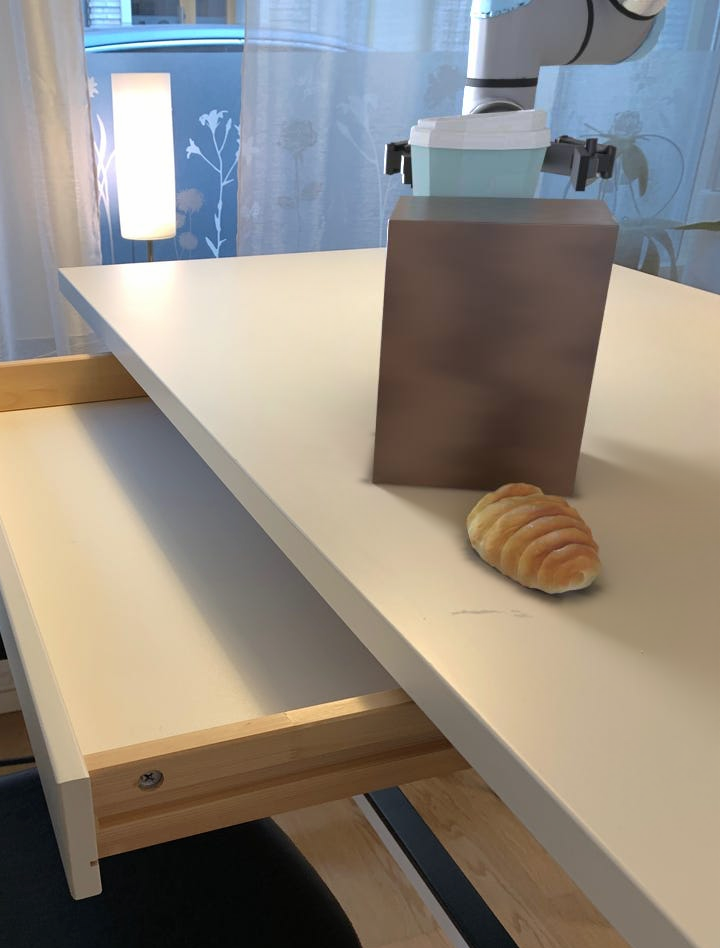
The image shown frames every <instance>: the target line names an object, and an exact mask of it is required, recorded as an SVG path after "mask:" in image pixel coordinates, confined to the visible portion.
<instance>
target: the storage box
mask: <svg viewBox="0 0 720 948" xmlns="http://www.w3.org/2000/svg"><path fill="white" fill-rule="evenodd" d="M619 230H620V225H619V223H618V221H617V220H616V218H615V216H614V214H613V213H612V211H611V209H610V208H609V206H608V205H607V203H606V201H605V200H604V199H597V198H593V199H591V198H590V199H589V198H545V197H542V198H541V197H538V198H537V197H533V198H496V197H445V196H413V195H400V196H399V197H398V199H397V201H396V204H395V206H394V207H393V210H392V212H391V214H390V216H389V219H388V221H387V236H386V250H385V251H386V252H385V265H384V266H385V267H384V283H383V284H384V285H383V300H382V315H381V332H380V333H381V334H380V349H379V364H378V365H379V366H378V380H377V397H376V398H377V399H376V411H375V428H374V429H375V430H374V447H373V448H374V449H373V463H372V476H371V477H372V478H371V479H372V480H371V483H372V484H380V485H381V484H382V485H395V486H396V485H398V486H410V487H411V486H412V487H424V488H426V487H427V488H439V489H453V490H454V489H455V490H466V491H467V490H468V491H482V492H483V491H484V492H495V491H496V490H498V489H499V488H500V487H502V486H504V485H507V484H511V483H525V484H529V485H533V486H535V487H538V488H540V489H541V491H542V493H543V494H544V495H545V496H547V495H554V496H559V497H565V498H566V497H568V498H572V497H573V495H574V489H575V483H576V478H577V471H578V467H579V466H578V465H579V461H580V453H581V448H582V443H583V438H584V437H583V436H584V432H585V424H586V421H587V420H586V419H587V413H588V408H589V403H590V397H591V391H592V385H593V380H594V373H595V368H596V363H597V356H598V351H599V344H600V338H601V333H602V327H603V322H604V316H605V311H606V305H607V299H608V294H609V293H608V292H609V288H610V283H611V275H612V271H613V264H614V258H615V254H616V248H617V242H618V236H619Z"/></svg>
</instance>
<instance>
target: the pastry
mask: <svg viewBox="0 0 720 948" xmlns="http://www.w3.org/2000/svg"><path fill="white" fill-rule="evenodd" d="M466 529H467V534H468V537H469V541H470V543H471V546H472V549H473V550H475V552H477V554H478V555H479V557H480V559H481V560H483V561H484V562H486V563H487V564H488V565H489V566H490V567H491V568H492V567H494V568H495V569H497V570H498V571H499V572H500V573H501V574H502V575H503V576H507V577H509V578H510V579H511V580H512V581H514V582H516V583H518V584H519V585H520V586H522V587H526V588H530V589H537V590H540V591H543V592H545V593H547V594H550V595H551V594H563V593H565V592H569V591H576V590H582V589H585V588H587V587H589V586H591V585H592V583H593V582H594V580H595V579H596V577H597V576H598V575H599V574H601V571H602V570H603V565H602V563H601V559H600V557H599V545H598V543H597V542H596V541H595V540H594V537H593V534H592V529H591V528H590V527H589V526H588V525H587V524H586V522H585V520H584V519H583V518H582V517H581V515H580V513H579V511H578V510H577V509H576V508H575V507H571V506H570V505H569V503H568V502H567V501H566V500H565V499H564V498H563V496H554V495H544V494H543V493H542V491H541V489H540V488H538V487H535V486H533V485H529V484H525V483H511V484H507V485H504V486H502V487H500V488H499V489H498V490H496V491H491V492H487V494H485V495H484V496H483V497H482V498H481V499H480V500H478V502H477V503H476V504H475V506H474V507H473V508H472V510H471V511H470V513H469V514H468V516H467V519H466Z"/></svg>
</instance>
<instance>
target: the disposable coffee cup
mask: <svg viewBox="0 0 720 948" xmlns="http://www.w3.org/2000/svg"><path fill="white" fill-rule="evenodd" d="M547 116H548V112H547V110H545V109H542V108H539V109H538V108H534V109H531V110H521V111H511V112H498V113H484V114H471V115H462V114H458V115H446V116H434V117H426V118H419V119H418V120H417V124H416V125H415V124H414V125H413V126H412V127H411V128H410V135H409V139H408V140H409V141H408V144H410V145H411V159H412V179H413V188H412V196H445V197H496V198H535V195H536V190H537V185H538V182H539V178H540V175H541V173H542V172H541V168H542V164H543V160H544V157H545V153H546V149H547V147H548V146H551V144H550V142H551V137H552V131H551V129H550V128H549V127H547V126H546V122H547Z"/></svg>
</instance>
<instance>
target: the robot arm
mask: <svg viewBox="0 0 720 948" xmlns="http://www.w3.org/2000/svg"><path fill="white" fill-rule="evenodd" d="M670 1H671V0H472V2H471V8H470V13H469V15H470V28H469V29H470V30H469V31H470V32H469V44H468V59H467V71H466V72H467V73H466V77H465V85H464V90H463V100H462V111H461V112H462V113H461V115H471V114H484V113H498V112H511V111H521V110H531V109H535V103H536V95H537V87H538V83H539V76H540V72H541V71H540V70H541V67H558V66H559V67H560V66H617V65H620V64H622V63H632V62H636V61H639V60H641V59H642V58H645V57H646V56H647V55H649V54H650V53H651V52H652V51H653V50H654V48H655V47H656V45H657V44H658V42H659V37H660V34H661V32H662V31H663V30H664V28H665V24H666V17H667V8H666V7H667V4H669V2H670ZM409 140H410V139H405V140H400V141H391V142H388V143H385V147H384V148H385V149H384V163H383V174H385V175H387V176H393V175H396V174H402V180H401V181H402V183H401V184H403V185H410V189H413V179H412V159H411V145H410V144H408V141H409ZM598 141H599V138H598V137H591V138H590V137H589V138H585V140H582V139H577V138H574V137H572V136H570V135H568V134H562V135H560V136H558V137H555V138H554V141H550V144H551V146H548V147H547V149H546V153H545V157H544V160H543V164H542V168H541V172H540V173H545V174H552V175H559V176H565V177H570V178H569V182H570V184H571V185H572V188H573V190H574V192H585V191H586V186H587V180H588V179H595V178H600V179H602V180H609V179H612V178H613V174H614V168H615V162H616V158H617V150H618V146H614V145H612V144H604V143H598Z"/></svg>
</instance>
